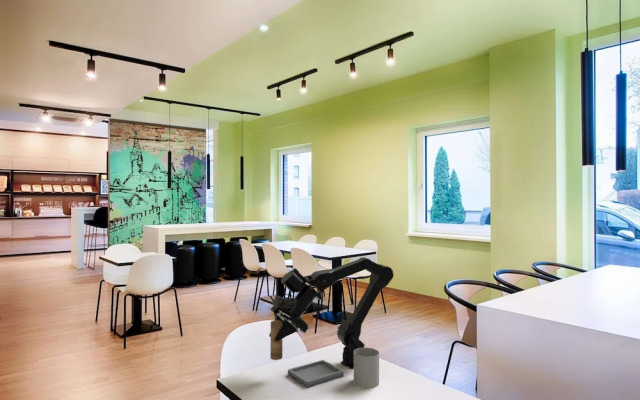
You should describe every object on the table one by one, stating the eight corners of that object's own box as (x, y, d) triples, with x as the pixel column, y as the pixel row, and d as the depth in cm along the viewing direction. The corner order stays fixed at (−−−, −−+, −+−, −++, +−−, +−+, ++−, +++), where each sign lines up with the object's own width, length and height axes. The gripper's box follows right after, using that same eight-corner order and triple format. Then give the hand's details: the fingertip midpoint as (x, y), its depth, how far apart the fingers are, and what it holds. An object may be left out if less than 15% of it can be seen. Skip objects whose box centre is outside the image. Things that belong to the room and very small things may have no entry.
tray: (322, 364, 147) (323, 359, 147) (343, 376, 137) (343, 370, 137) (287, 374, 138) (287, 369, 138) (307, 387, 128) (307, 382, 128)
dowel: (278, 354, 138) (278, 319, 138) (284, 358, 135) (284, 322, 135) (268, 357, 136) (268, 321, 136) (274, 360, 133) (274, 324, 133)
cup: (378, 389, 128) (378, 357, 128) (352, 387, 129) (352, 355, 129) (379, 378, 136) (379, 348, 136) (355, 376, 137) (355, 346, 137)
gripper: (275, 282, 146) (246, 317, 140) (300, 292, 130) (268, 332, 124) (295, 301, 150) (267, 336, 144) (320, 313, 134) (291, 352, 128)
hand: (272, 338), depth 135 cm, fingers closed on dowel, 4 cm apart
